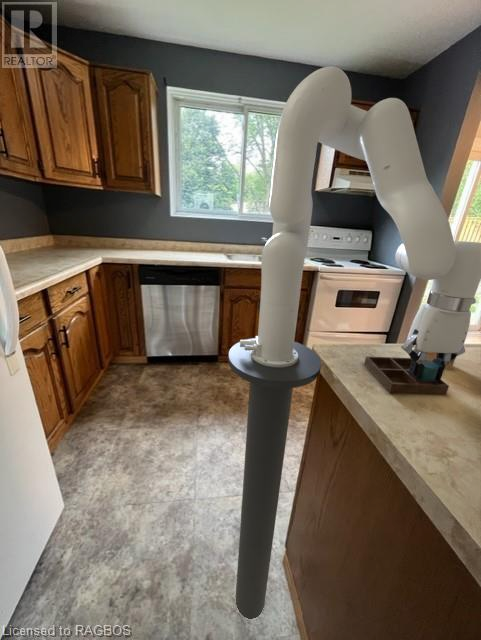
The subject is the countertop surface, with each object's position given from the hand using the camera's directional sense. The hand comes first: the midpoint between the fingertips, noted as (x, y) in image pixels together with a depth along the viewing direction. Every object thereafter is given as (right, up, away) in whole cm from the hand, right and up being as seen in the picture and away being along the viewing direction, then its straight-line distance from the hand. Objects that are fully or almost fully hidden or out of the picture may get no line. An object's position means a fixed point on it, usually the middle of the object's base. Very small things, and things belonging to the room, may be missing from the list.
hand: (424, 376), depth 64 cm
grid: (-3, -1, +4) cm, 5 cm away
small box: (+11, +1, +13) cm, 17 cm away
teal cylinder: (0, 0, 0) cm, 0 cm away
